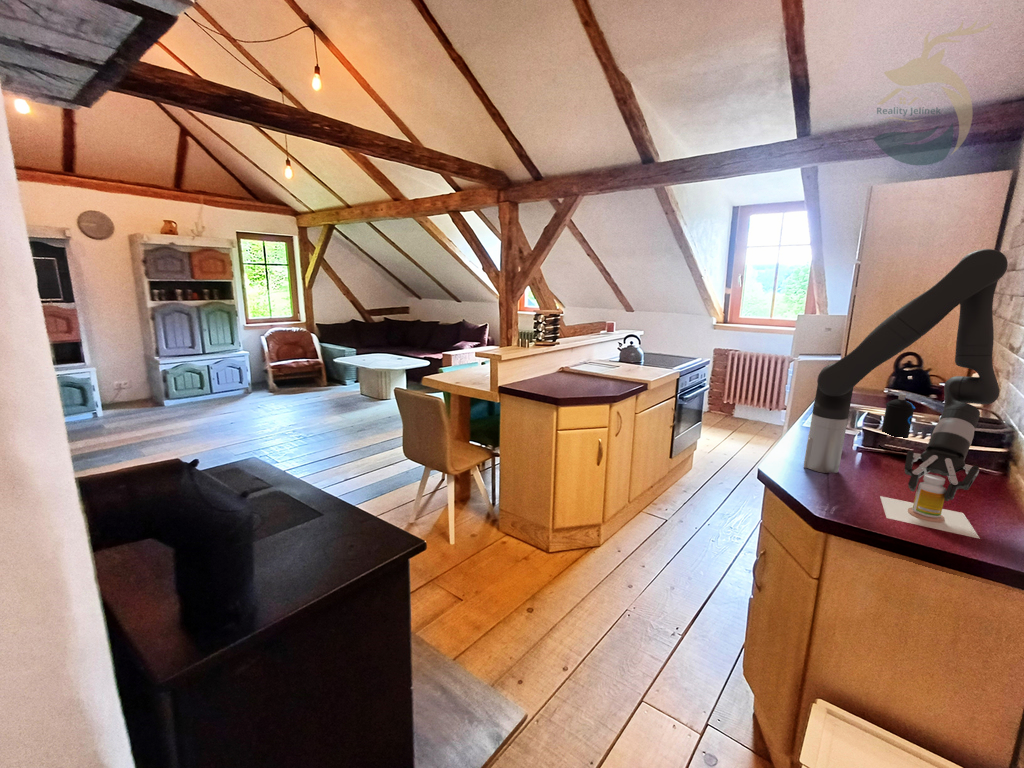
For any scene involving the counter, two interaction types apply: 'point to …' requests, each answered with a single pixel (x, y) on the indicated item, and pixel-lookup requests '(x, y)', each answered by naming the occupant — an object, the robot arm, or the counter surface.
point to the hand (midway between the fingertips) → (928, 494)
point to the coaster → (939, 519)
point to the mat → (951, 523)
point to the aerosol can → (898, 417)
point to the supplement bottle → (930, 496)
